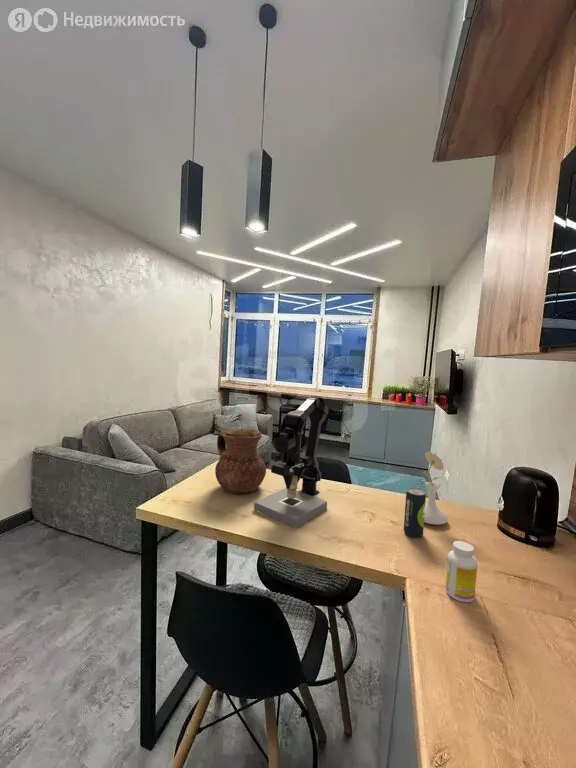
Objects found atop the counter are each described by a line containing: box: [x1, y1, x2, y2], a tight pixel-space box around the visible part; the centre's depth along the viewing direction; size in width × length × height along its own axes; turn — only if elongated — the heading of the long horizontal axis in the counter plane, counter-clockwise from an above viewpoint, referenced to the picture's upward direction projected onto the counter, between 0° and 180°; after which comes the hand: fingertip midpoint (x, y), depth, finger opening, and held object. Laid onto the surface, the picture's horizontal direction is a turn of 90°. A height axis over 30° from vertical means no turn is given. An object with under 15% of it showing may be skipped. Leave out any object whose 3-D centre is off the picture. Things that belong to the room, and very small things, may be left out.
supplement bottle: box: [445, 540, 478, 603], centre depth 85 cm, size 7×7×13 cm
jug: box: [214, 428, 267, 494], centre depth 148 cm, size 22×21×25 cm
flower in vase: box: [422, 451, 448, 526], centre depth 125 cm, size 13×11×25 cm
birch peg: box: [285, 475, 298, 499], centre depth 129 cm, size 4×4×8 cm
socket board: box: [253, 487, 328, 529], centre depth 130 cm, size 20×20×3 cm
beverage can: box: [403, 487, 427, 539], centre depth 114 cm, size 6×6×15 cm
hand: (291, 486), depth 129 cm, fingers closed on birch peg, 4 cm apart
